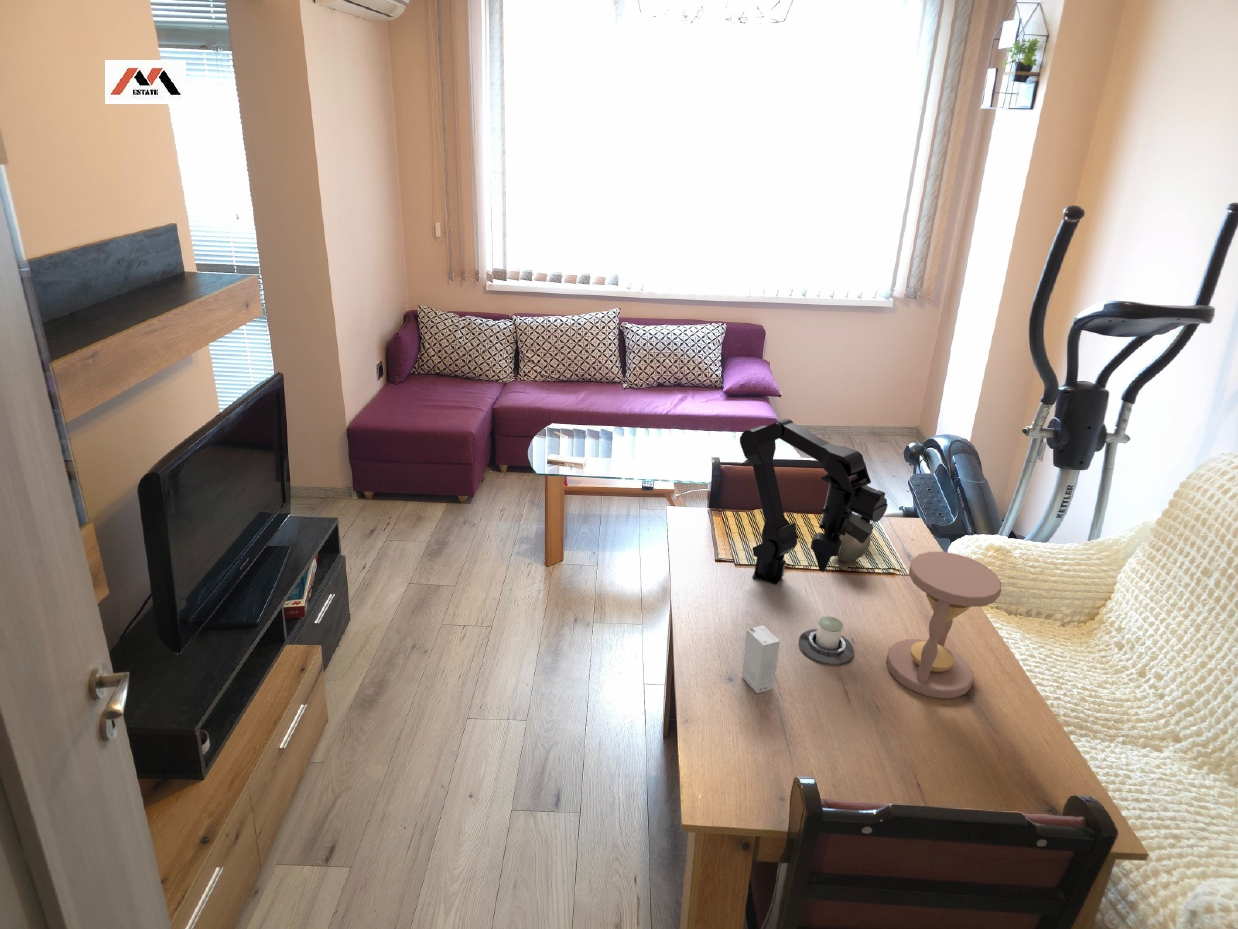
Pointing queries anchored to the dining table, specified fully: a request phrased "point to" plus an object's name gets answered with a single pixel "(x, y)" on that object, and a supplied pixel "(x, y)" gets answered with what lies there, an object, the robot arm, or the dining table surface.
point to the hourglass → (942, 623)
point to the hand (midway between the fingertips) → (825, 561)
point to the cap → (828, 633)
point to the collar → (822, 655)
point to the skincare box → (760, 659)
